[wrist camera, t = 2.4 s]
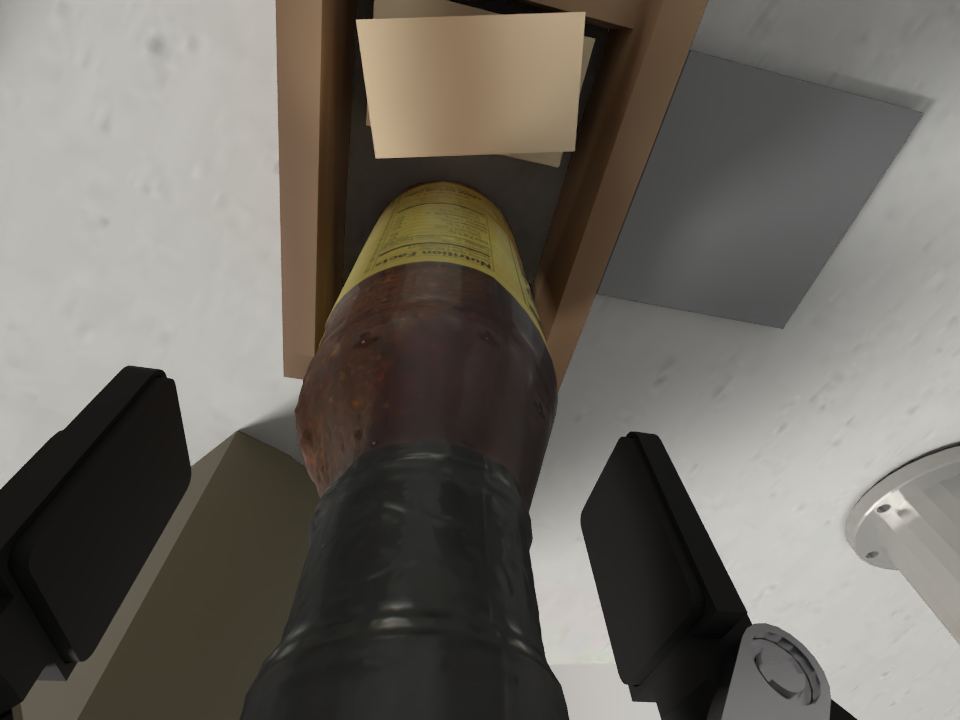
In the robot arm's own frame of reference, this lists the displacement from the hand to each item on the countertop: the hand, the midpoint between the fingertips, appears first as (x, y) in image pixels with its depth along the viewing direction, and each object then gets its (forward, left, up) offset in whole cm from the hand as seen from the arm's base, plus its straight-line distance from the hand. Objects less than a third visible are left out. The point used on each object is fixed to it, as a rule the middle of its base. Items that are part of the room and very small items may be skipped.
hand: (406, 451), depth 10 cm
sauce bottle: (0, 0, -14) cm, 14 cm away
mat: (-13, -4, -14) cm, 19 cm away
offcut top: (0, -6, -11) cm, 13 cm away
